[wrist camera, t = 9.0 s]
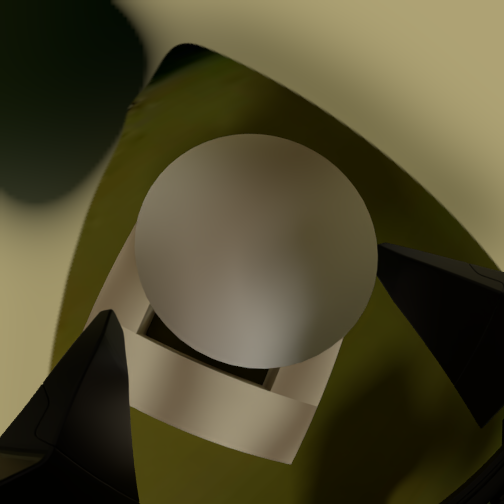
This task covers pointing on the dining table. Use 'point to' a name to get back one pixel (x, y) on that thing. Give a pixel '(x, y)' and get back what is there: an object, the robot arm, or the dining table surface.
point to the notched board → (210, 380)
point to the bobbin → (256, 251)
